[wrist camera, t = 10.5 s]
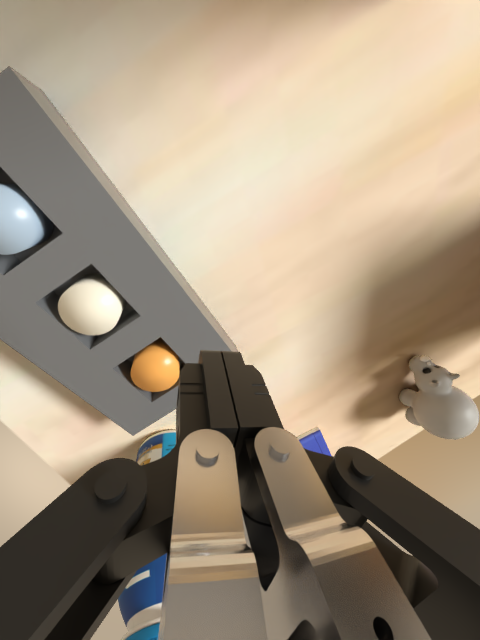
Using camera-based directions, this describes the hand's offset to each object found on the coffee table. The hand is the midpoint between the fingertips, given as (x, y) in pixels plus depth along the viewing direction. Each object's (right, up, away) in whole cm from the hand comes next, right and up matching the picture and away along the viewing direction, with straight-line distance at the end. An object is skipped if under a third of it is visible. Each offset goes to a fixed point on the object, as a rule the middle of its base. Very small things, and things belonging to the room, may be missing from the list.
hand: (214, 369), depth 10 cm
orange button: (-8, -2, +17) cm, 19 cm away
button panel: (-12, +5, +14) cm, 19 cm away
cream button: (-12, +4, +13) cm, 18 cm away
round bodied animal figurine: (+28, -7, +30) cm, 41 cm away
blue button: (-16, +10, +10) cm, 21 cm away
